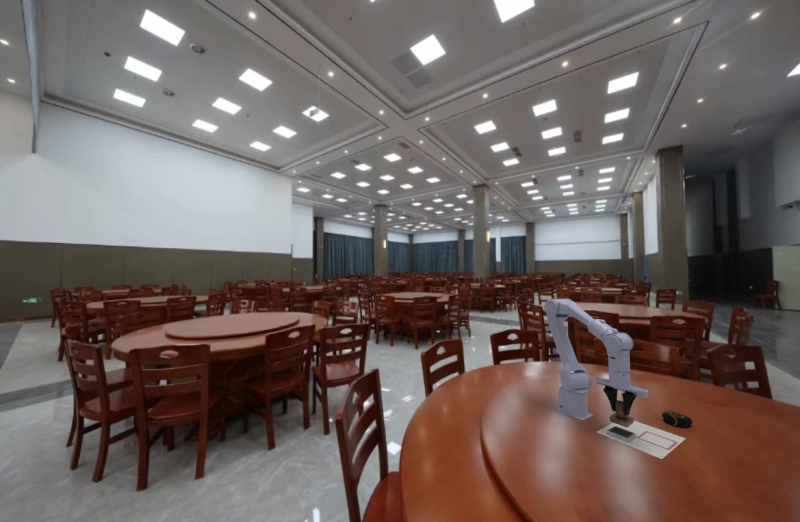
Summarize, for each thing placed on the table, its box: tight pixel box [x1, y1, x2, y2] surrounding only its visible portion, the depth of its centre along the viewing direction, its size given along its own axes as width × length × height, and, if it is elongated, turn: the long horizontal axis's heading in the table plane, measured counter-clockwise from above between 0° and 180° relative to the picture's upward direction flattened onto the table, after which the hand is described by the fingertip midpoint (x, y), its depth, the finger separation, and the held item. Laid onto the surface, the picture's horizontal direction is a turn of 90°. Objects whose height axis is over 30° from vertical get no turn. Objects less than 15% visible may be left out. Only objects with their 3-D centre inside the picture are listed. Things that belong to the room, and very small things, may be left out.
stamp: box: [609, 399, 635, 428], centre depth 96 cm, size 5×5×6 cm
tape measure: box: [661, 409, 693, 428], centre depth 104 cm, size 7×7×4 cm
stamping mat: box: [596, 420, 687, 460], centre depth 96 cm, size 17×21×2 cm
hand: (620, 412), depth 95 cm, fingers closed on stamp, 3 cm apart
